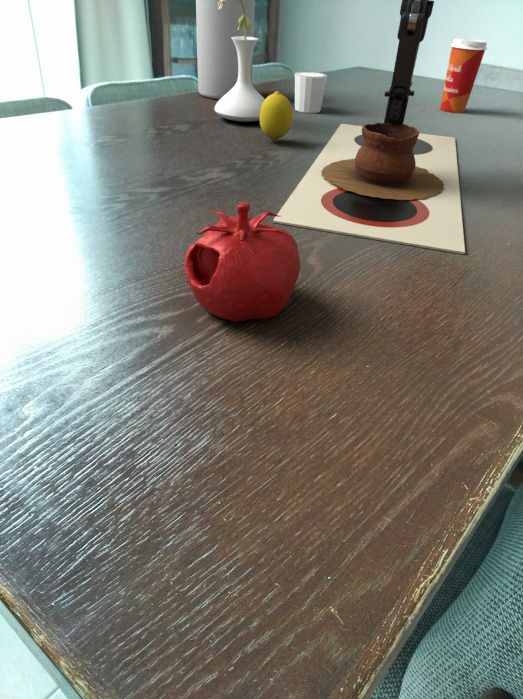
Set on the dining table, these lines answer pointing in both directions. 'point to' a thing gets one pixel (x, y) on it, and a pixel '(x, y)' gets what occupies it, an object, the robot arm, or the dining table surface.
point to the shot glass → (309, 91)
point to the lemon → (275, 116)
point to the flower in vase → (241, 80)
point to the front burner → (374, 209)
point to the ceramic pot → (385, 166)
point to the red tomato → (243, 267)
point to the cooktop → (432, 233)
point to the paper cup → (461, 73)
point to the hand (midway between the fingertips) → (389, 144)
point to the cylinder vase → (220, 44)
